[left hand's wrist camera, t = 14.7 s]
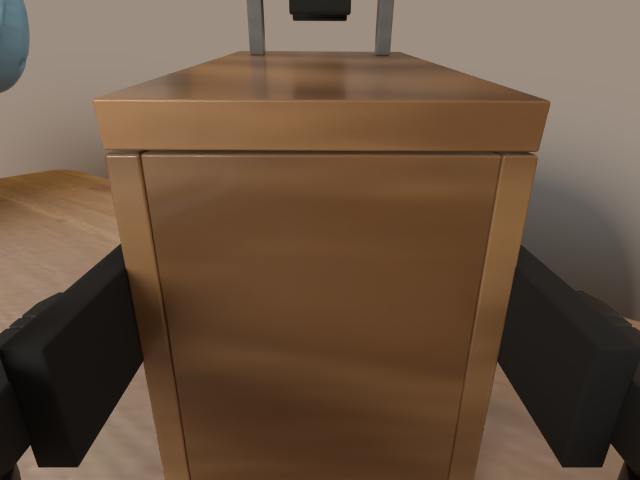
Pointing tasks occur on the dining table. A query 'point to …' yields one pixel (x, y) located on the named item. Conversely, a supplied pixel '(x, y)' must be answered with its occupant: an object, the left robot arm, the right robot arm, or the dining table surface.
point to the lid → (320, 103)
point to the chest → (320, 306)
